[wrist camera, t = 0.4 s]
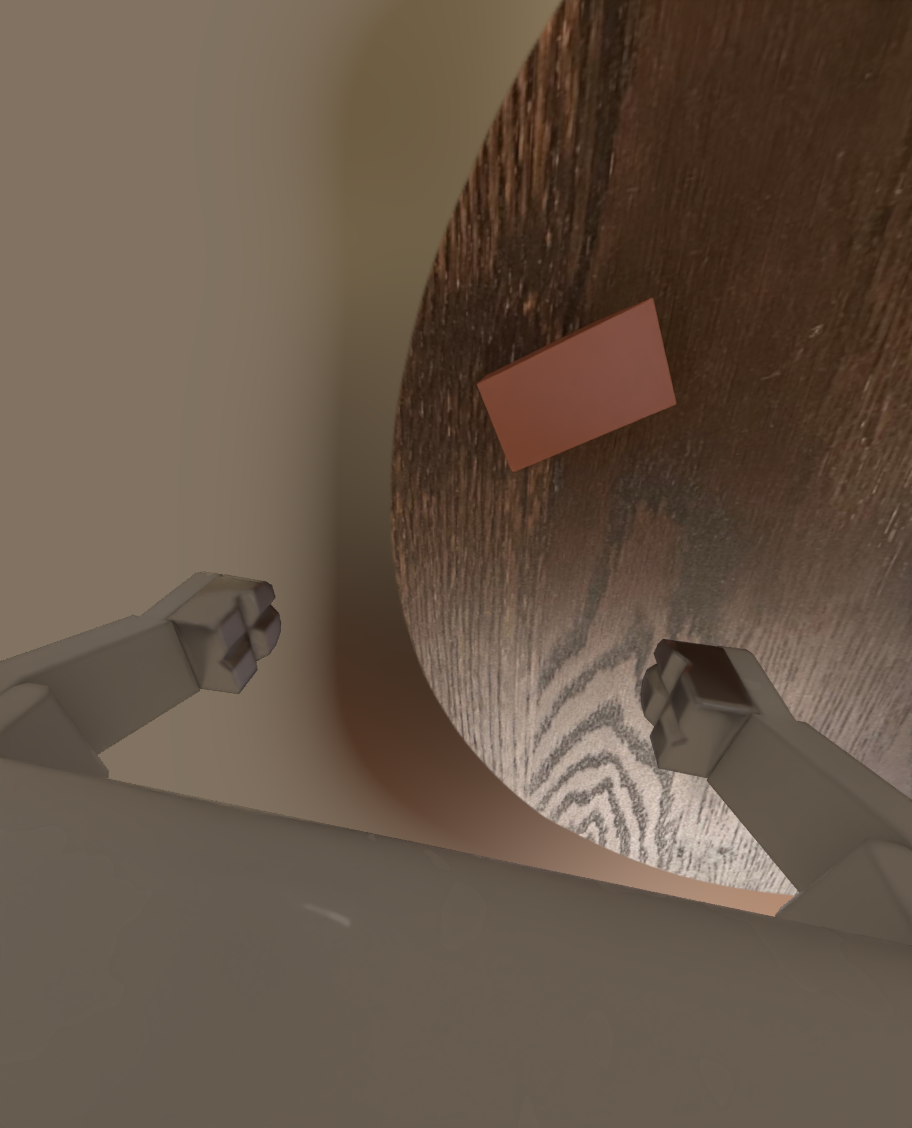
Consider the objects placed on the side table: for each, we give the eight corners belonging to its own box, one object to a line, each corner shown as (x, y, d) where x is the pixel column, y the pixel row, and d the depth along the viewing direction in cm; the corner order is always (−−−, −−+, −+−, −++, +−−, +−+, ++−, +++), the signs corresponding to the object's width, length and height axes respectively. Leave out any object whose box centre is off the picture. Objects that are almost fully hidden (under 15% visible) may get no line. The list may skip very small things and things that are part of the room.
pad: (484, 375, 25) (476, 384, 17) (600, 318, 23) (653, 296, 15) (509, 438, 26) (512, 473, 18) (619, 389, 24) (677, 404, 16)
